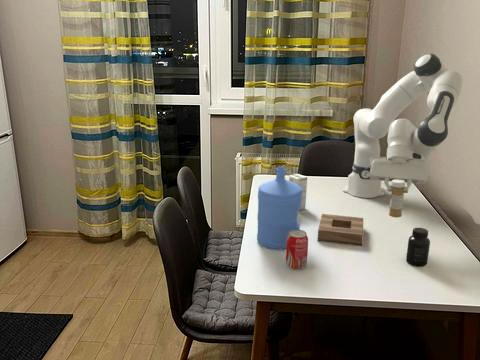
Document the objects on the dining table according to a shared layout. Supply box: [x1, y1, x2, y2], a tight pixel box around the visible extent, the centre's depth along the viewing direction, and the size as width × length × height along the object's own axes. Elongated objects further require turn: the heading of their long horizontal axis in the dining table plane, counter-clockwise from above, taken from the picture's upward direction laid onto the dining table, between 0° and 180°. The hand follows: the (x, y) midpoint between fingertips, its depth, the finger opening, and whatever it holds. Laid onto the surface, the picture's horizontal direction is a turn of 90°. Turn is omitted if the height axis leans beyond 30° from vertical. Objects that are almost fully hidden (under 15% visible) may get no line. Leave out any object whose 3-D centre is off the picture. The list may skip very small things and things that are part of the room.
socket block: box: [316, 213, 364, 247], centre depth 183 cm, size 16×16×4 cm
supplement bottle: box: [405, 227, 431, 268], centre depth 161 cm, size 7×7×12 cm
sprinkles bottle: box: [388, 179, 406, 218], centre depth 174 cm, size 5×5×13 cm
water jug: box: [256, 167, 302, 251], centre depth 174 cm, size 16×16×28 cm
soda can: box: [285, 229, 309, 271], centre depth 158 cm, size 7×7×12 cm
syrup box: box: [288, 173, 308, 211], centre depth 207 cm, size 6×6×14 cm
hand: (397, 191), depth 173 cm, fingers closed on sprinkles bottle, 4 cm apart
